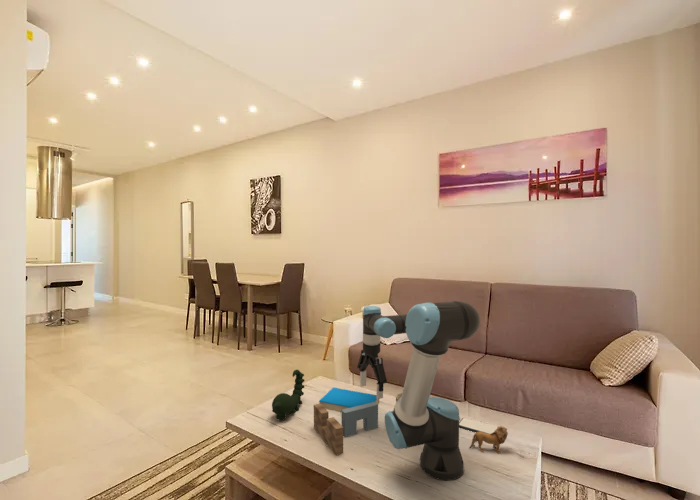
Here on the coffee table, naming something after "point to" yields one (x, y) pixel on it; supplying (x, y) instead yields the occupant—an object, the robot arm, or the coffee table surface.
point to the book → (345, 399)
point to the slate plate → (359, 418)
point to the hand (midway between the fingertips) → (371, 391)
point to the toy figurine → (289, 399)
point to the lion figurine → (490, 438)
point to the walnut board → (328, 429)
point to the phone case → (476, 426)
